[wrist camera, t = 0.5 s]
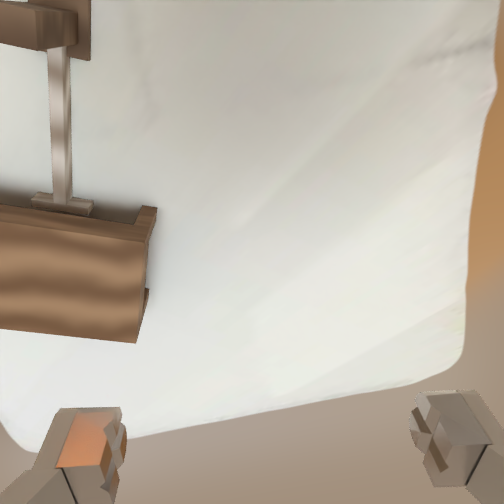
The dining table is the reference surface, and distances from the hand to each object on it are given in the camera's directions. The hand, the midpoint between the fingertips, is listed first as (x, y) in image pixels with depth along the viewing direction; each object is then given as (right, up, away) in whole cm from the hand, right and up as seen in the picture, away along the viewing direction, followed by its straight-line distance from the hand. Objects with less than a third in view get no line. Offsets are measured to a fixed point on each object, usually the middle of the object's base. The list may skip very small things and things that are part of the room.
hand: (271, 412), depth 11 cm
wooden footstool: (-27, +6, +46) cm, 53 cm away
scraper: (-23, +21, +37) cm, 48 cm away
